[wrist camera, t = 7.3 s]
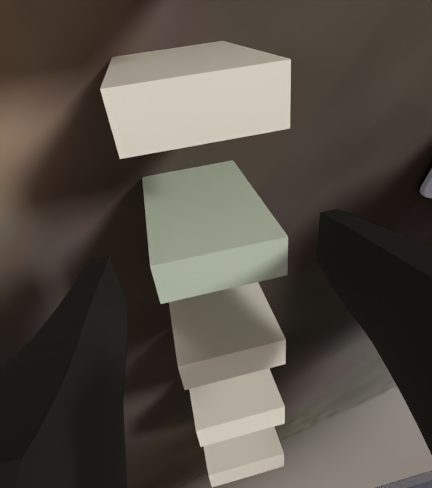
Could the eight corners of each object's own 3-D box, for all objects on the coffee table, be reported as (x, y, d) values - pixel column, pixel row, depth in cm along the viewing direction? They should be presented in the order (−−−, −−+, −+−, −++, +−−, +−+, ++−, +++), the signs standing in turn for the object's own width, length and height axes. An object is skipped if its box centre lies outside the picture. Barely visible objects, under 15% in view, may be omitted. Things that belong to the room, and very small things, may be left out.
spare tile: (142, 177, 16) (150, 266, 10) (232, 160, 16) (287, 236, 11) (149, 207, 17) (160, 304, 11) (235, 190, 17) (287, 274, 12)
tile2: (112, 57, 13) (99, 88, 7) (222, 40, 14) (290, 59, 8) (123, 100, 14) (120, 159, 8) (226, 84, 15) (289, 128, 9)
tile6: (190, 369, 25) (208, 475, 19) (248, 354, 25) (284, 453, 19) (193, 382, 26) (211, 487, 20) (249, 367, 26) (283, 466, 20)
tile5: (178, 322, 22) (196, 431, 16) (244, 306, 22) (284, 406, 17) (182, 338, 23) (200, 447, 17) (246, 323, 23) (284, 423, 17)
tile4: (162, 260, 19) (177, 366, 13) (239, 244, 19) (285, 339, 14) (168, 282, 20) (184, 390, 14) (241, 266, 20) (285, 363, 15)
